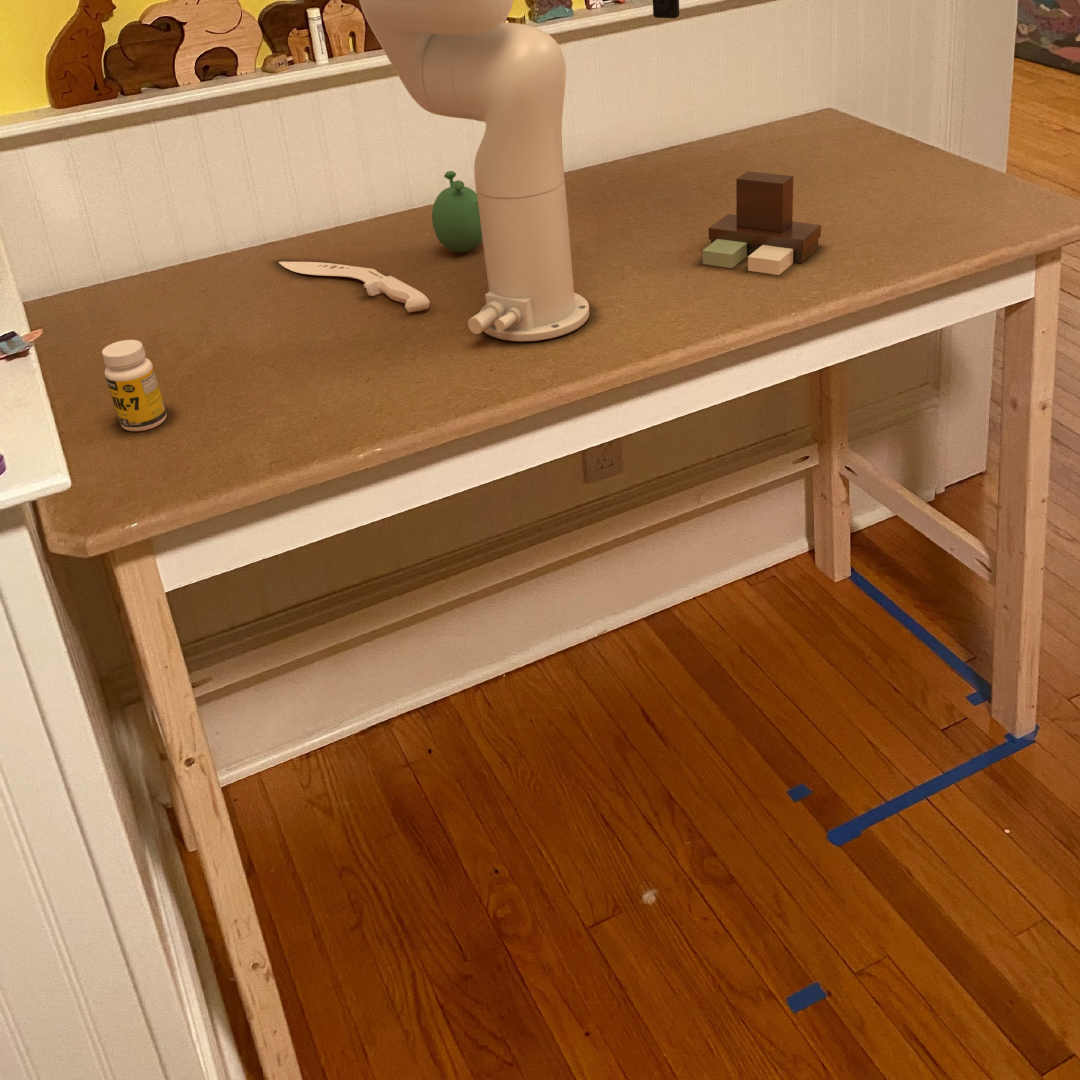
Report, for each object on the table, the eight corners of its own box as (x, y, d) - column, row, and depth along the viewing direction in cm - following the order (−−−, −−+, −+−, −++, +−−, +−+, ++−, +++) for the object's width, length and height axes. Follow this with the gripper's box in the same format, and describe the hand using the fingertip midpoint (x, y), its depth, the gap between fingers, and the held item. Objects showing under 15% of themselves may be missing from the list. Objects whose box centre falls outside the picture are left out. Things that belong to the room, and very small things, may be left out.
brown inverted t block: (802, 264, 145) (804, 189, 140) (708, 251, 151) (707, 179, 146) (820, 248, 148) (823, 175, 143) (728, 236, 154) (727, 165, 149)
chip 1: (732, 268, 146) (732, 254, 145) (702, 264, 148) (702, 250, 147) (747, 256, 148) (747, 242, 147) (717, 252, 150) (717, 238, 149)
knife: (275, 256, 162) (328, 240, 165) (278, 268, 163) (330, 251, 166) (372, 315, 139) (431, 294, 142) (375, 328, 140) (433, 308, 143)
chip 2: (778, 275, 143) (779, 260, 142) (747, 270, 145) (747, 256, 144) (793, 263, 145) (793, 248, 144) (762, 259, 147) (762, 244, 146)
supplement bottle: (111, 430, 125) (87, 356, 121) (139, 409, 129) (116, 336, 124) (150, 434, 124) (126, 359, 119) (176, 413, 127) (155, 339, 123)
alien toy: (501, 253, 157) (492, 176, 152) (444, 265, 156) (432, 187, 150) (487, 237, 163) (478, 162, 157) (431, 248, 161) (420, 172, 156)
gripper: (689, -164, 144) (692, -8, 153) (613, -144, 132) (622, 23, 142) (747, -167, 140) (747, -7, 149) (674, -147, 128) (679, 25, 138)
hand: (686, 8), depth 145 cm, fingers open, 9 cm apart
